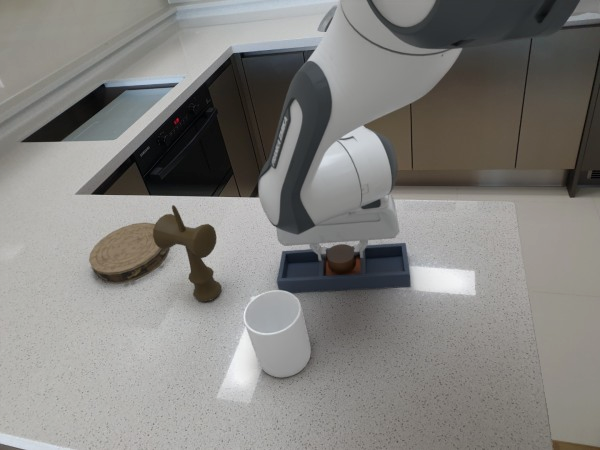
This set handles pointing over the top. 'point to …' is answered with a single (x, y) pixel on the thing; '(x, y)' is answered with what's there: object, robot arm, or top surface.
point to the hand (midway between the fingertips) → (341, 257)
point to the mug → (278, 332)
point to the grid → (366, 275)
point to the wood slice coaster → (127, 254)
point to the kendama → (190, 250)
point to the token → (341, 258)
